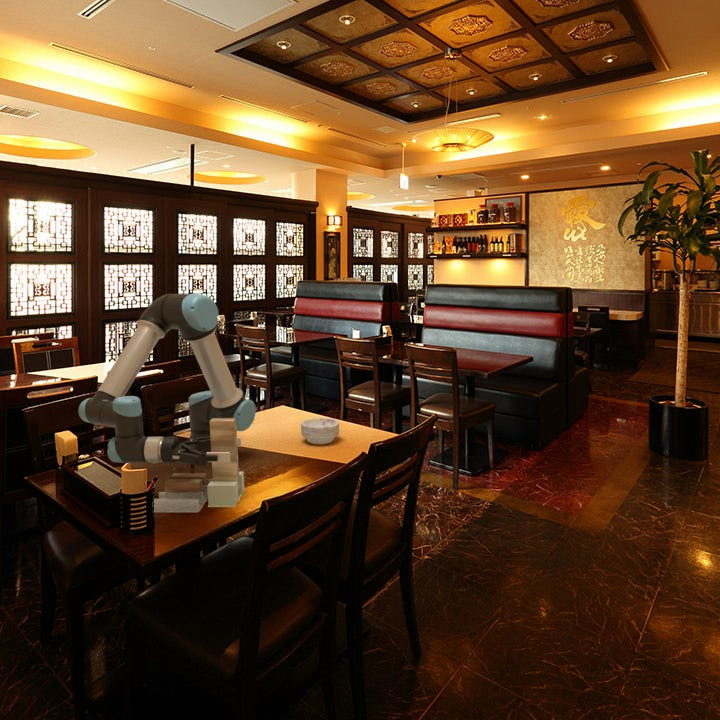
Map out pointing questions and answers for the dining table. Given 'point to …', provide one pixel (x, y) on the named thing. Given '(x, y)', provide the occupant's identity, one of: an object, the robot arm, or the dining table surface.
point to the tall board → (225, 449)
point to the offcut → (191, 477)
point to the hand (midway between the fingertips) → (235, 449)
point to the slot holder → (225, 493)
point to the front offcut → (184, 485)
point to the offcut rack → (181, 500)
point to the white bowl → (320, 430)
